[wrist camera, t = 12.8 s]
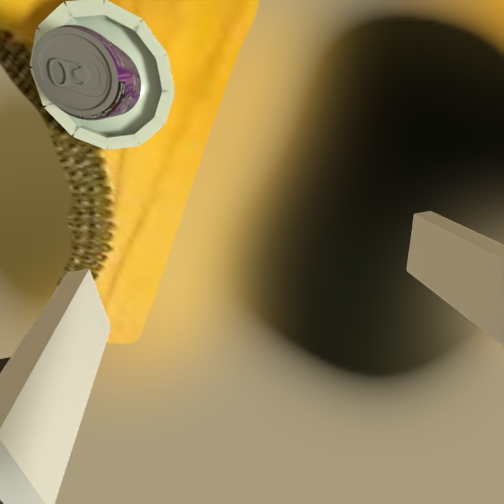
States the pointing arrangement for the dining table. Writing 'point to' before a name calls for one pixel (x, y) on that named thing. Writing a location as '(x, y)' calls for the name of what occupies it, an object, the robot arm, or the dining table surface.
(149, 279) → the dining table surface
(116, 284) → the dining table surface
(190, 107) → the dining table surface
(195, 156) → the dining table surface
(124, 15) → the tray
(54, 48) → the beverage can
